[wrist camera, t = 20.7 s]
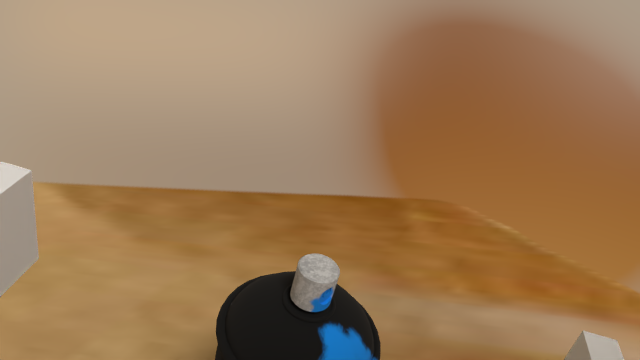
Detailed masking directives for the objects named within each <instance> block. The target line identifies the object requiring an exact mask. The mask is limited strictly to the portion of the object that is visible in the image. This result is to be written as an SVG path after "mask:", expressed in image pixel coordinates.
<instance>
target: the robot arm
mask: <svg viewBox="0 0 640 360" xmlns="http://www.w3.org/2000/svg"><path fill="white" fill-rule="evenodd" d="M38 259H39V257H38V244H37V232H36V219H35V207H34V194H33V182H32V171H31V170H29V169H25V168H21V167H18V166H15V165H11V164H8V163H5V162H0V297H1V296H2V295H3V294H4V293H5V292H6V291H7V290H8V289H9V288H10V287H11V286H12V285H13V284H14V283H15V282H16V281H17V280H18V279H19V278H20V277H21V276H22V275H23V274H24V273H25V272H26V271H27V270H28V269H29V268H30V267H31V266H32V265H33V264H34V263H35V262H36V261H37V260H38ZM564 360H624V358H623V355H622V353H621V350H620V347H619V344H618V341H617V340H614V339H611V338H607V337H604V336H600V335H597V334H593V333H590V332H586V331H582V333H581V334H580V336H579V337H578V339H577V340H576V342H575V343H574V345H573V346H572V348H571V349H570V351H569V353H568V354H567V356H566V357H565V359H564Z"/></svg>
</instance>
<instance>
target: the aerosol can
mask: <svg viewBox="0 0 640 360" xmlns="http://www.w3.org/2000/svg"><path fill="white" fill-rule="evenodd" d="M339 275H340V270H339V267H338V265H337V264H336V263H335V262H334V261H333V260H332V259H330V258H329V257H327V256H324V255H321V254H308V255H305V256H303V257H302V258H301V259H300V260H299V262H298V265H297V269H296V271H294V272H282V273H276V274H270V275H265V276H260V277H257V278H255V279H252V280H249V281H247V282H246V283H244V284H242V285H241V286H239V287H238V288H236V289H235V290H234V291H233V292H232V293H231V294H230V295H229V296H228V298H227V299H226V301H225V302H224V304H223V305H222V307H221V309H220V312H219V315H218V317H217V323H216V336H217V341H218V346H217V351H216V357H215V360H380V340H379V336H378V331H377V329H376V327H375V325H374V323H373V320H372V318H371V317H370V316H369V314H368V313H367V312H366V310H365V309H364V308H363V307H362V306H361V305H360V304H359V303H358V302H357V301H356V300H355V299H354V298H353V297H352V296H351V295H350V294H349V293H348V292H347V291H346V290H344V289H343V288H342V287H340V286H339V285H338V284H337V281H338V278H339Z"/></svg>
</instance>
